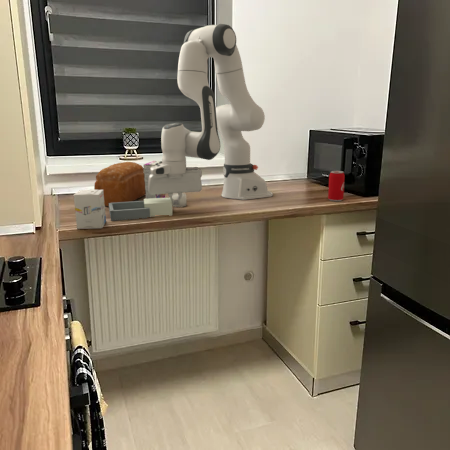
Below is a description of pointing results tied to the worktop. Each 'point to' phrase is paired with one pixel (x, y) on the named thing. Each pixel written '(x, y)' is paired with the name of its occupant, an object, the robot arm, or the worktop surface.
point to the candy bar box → (146, 176)
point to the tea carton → (159, 206)
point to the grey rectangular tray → (128, 210)
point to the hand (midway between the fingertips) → (175, 204)
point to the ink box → (89, 209)
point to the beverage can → (336, 186)
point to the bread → (121, 182)
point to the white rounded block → (182, 200)
